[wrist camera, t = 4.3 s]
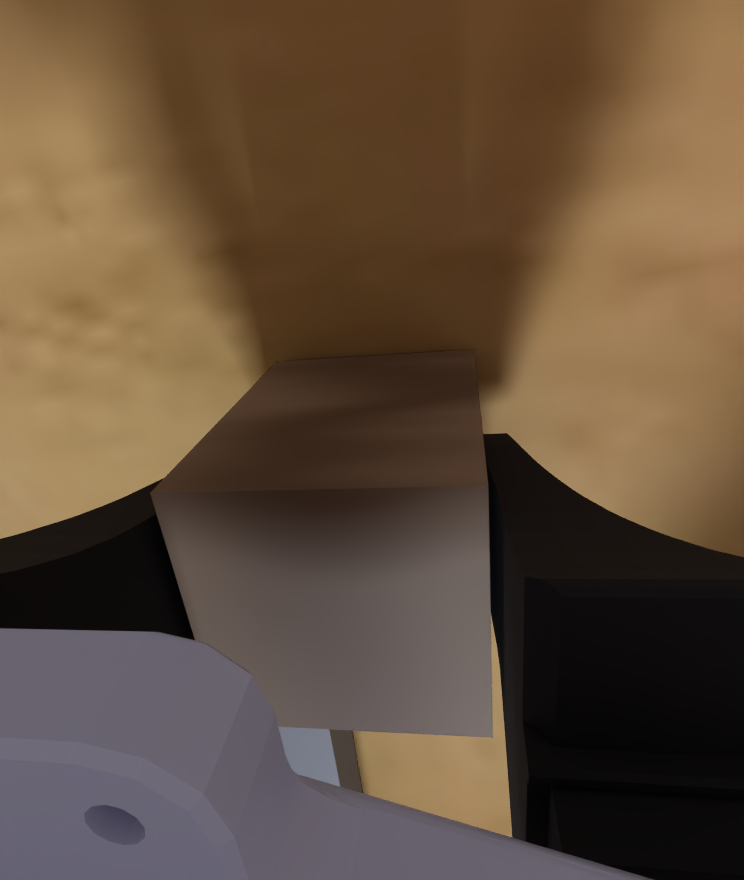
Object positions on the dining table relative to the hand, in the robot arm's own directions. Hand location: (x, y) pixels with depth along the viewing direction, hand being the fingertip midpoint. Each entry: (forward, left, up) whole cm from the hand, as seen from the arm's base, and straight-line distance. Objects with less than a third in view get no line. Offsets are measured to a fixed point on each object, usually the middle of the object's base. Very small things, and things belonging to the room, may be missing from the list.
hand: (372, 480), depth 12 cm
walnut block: (0, 0, -2) cm, 2 cm away
